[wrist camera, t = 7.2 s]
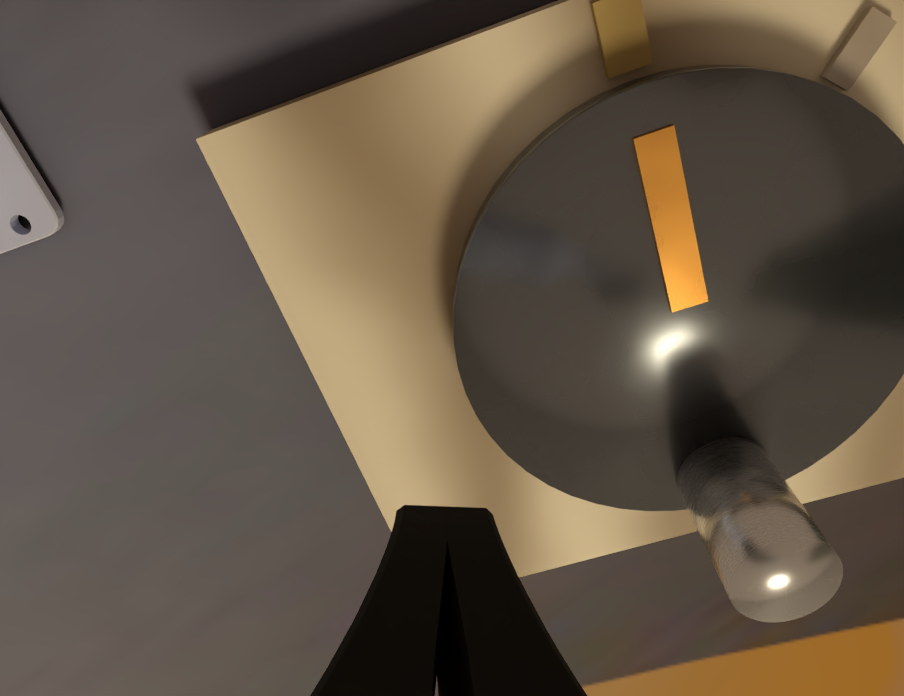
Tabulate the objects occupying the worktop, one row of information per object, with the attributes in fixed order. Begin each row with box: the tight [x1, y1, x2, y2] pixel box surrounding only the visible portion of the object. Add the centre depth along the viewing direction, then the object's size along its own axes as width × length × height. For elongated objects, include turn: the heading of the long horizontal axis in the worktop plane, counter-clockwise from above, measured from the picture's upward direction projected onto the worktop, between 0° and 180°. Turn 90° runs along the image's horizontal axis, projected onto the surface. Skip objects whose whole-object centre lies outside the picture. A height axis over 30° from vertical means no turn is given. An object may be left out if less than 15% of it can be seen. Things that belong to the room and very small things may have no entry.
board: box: [196, 0, 904, 577], centre depth 19 cm, size 20×16×2 cm
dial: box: [453, 65, 904, 622], centre depth 16 cm, size 12×12×5 cm
